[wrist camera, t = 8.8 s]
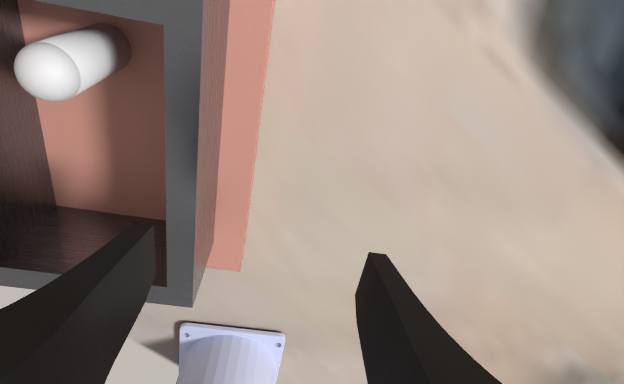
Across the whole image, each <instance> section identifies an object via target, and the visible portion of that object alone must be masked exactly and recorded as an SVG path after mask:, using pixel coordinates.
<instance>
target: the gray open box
mask: <svg viewBox="0 0 624 384" xmlns="http://www.w3.org/2000/svg"><path fill="white" fill-rule="evenodd" d="M35 1H40V2H45V3H50V4H56V5H61V6H66V7H71V8H76V9H81V10H87V11H92V12H97V13H102V14H107V15H112V16H118V17H123V18H128V19H133V20H138V21H144V22H149V23H154V24H159V25H164V97H165V172H166V220H158V219H151V218H144V217H137V216H130V215H122V214H115V213H108V212H101V211H94V210H86V209H79V208H72V207H65V206H58V205H56V200H55V195H54V190H53V185H52V179H51V174H50V169H49V164H48V159H47V153H46V148H45V143H44V138H43V133H42V127H41V122H40V117H39V112H38V107H37V101H36V97H34V96H33V95H31V94H29V93H28V92H27V91H26V90H25V89H24V88H23V87H22V86H21V85H20V83H19V82H18V80H17V78H16V76H15V72H14V61H15V58H16V56H17V54H18V52H19V51H20V50H21V49H22V48H23V47H25V46H26V44H25V39H24V34H23V29H22V23H21V18H20V13H19V8H18V3H17V0H0V286H9V287H17V288H26V289H35V290H38V289H39V288H41V287H43V286H45V285H46V284H48V283H50V282H51V281H53V280H54V279H56V278H57V277H59V276H61V275H62V274H64V273H65V272H67V271H68V270H70V269H71V268H73V267H74V266H76V265H77V264H79V263H80V262H82V261H83V260H84V259H86V258H87V257H89V256H90V255H91V254H93V253H94V252H96V251H97V250H98V249H100V248H101V247H103V246H104V245H105V244H107V243H108V242H109V241H111V240H112V239H113V238H115V237H116V236H117V235H119V234H120V233H121V232H123V231H124V230H125V229H127V228H128V227H129V226H131V225H132V224H134V223H138V224H146V225H154V241H155V259H156V274H155V277H154V280H153V283H152V285H151V288H150V291H149V294H148V296H147V299H146V301H145V302H147V303H156V304H165V305H173V306H182V307H191V308H192V307H193V304H194V301H195V298H196V295H197V292H198V289H199V286H200V283H201V280H202V277H203V274H204V270H205V267H206V264H207V261H208V258H209V255H210V252H211V249H212V246H213V242H214V228H215V213H216V198H217V184H218V169H219V154H220V140H221V125H222V110H223V96H224V81H225V66H226V52H227V37H228V22H229V8H230V0H35Z"/></svg>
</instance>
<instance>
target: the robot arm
mask: <svg viewBox="0 0 624 384" xmlns="http://www.w3.org/2000/svg"><path fill="white" fill-rule="evenodd" d="M155 274H156V259H155V241H154V225H146V224H138V223H134V224H132V225H131V226H129V227H128V228H127V229H125V230H124V231H123V232H121V233H120V234H119V235H117V236H116V237H115V238H113V239H112V240H111V241H109V242H108V243H107V244H105V245H104V246H103V247H101V248H100V249H98V250H97V251H96V252H94V253H93V254H91V255H90V256H89V257H87V258H86V259H84V260H83V261H82V262H80V263H79V264H77V265H76V266H74V267H73V268H71V269H70V270H68V271H67V272H65V273H64V274H62V275H61V276H59V277H57V278H56V279H54V280H53V281H51V282H50V283H48V284H46V285H45V286H43V287H41V288H39V289H38V290H36V291H34V292H32V293H31V294H29V295H27V296H25V297H23V298H21V299H20V300H18V301H16V302H14V303H12V304H10V305H8V306H6V307H4V308H2V309H0V384H104V383H105V381H106V379H107V376H108V374H109V372H110V370H111V368H112V365H113V363H114V361H115V359H116V357H117V355H118V353H119V352H120V350H121V348H122V346H123V344H124V342H125V340H126V338H127V336H128V334H129V332H130V330H131V329H132V327H133V325H134V323H135V321H136V319H137V317H138V315H139V313H140V311H141V309H142V307H143V305H144V303H145V301H146V299H147V296H148V294H149V291H150V288H151V285H152V283H153V280H154V277H155ZM355 300H356V318H357V327H358V332H359V338H360V344H361V349H362V355H363V360H364V365H365V371H366V376H367V382H368V384H502V383H501V382H500V381H498V380H497V379H496V378H495V377H493V376H492V375H491V374H490V373H489V372H488V371H487V370H485V369H484V368H483V367H482V366H481V365H480V364H479V363H478V362H476V361H475V360H474V359H473V358H472V357H471V356H470V355H469V354H468V353H467V352H466V351H465V350H463V349H462V347H461V346H460V345H459V344H458V343H457V342H456V341H455V340H454V339H453V338H452V337H451V336H450V335H449V334H448V333H447V332H446V331H445V330H444V329H443V328H442V327H441V326H440V324H439V323H438V322H437V321H436V320H435V319H434V317H433V316H432V315H431V314H430V313H429V312H428V310H427V309H426V308H425V307H424V305H423V304H422V303H421V302H420V300H419V299H418V298H417V297H416V295H415V294H414V293H413V291H412V290H411V289H410V287H409V286H408V285H407V283H406V282H405V280H404V279H403V278H402V276H401V275H400V273H399V272H398V271H397V269H396V268H395V266H394V265H393V263H392V262H391V261H390V259H389V258H388V256H387V255H386V254H379V253H371V252H369V253H368V257H367V260H366V263H365V266H364V269H363V272H362V275H361V278H360V281H359V284H358V288H357V291H356V294H355ZM285 339H286V337H285V335H284V334H282V333H277V332H268V331H259V330H250V329H241V328H232V327H223V326H214V325H205V324H196V323H182V324H181V326H180V329H179V376H178V379H177V382H176V384H276V379H277V375H278V371H279V367H280V362H281V358H282V354H283V349H284V345H285Z"/></svg>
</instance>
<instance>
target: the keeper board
mask: <svg viewBox="0 0 624 384" xmlns="http://www.w3.org/2000/svg"><path fill="white" fill-rule="evenodd" d="M17 3H18V8H19V13H20V18H21V23H22V29H23V34H24V39H25V44H26V46H25V47H23V48H22V49H21V50H20V51H19V52H18V54H17V56H16V58H15V61H14V72H15V76H16V78H17V80H18V82H19V83H20V85H21V86H22V87H23V88H24V89H25V90H26V91H27V92H28V93H29V94H31V95H33V96H34V97H36V101H37V107H38V112H39V117H40V122H41V127H42V133H43V138H44V143H45V148H46V153H47V159H48V164H49V169H50V174H51V179H52V185H53V190H54V195H55V200H56V205H58V206H65V207H72V208H79V209H86V210H94V211H101V212H108V213H115V214H122V215H130V216H137V217H144V218H151V219H158V220H166V172H165V97H164V25H159V24H154V23H149V22H144V21H138V20H133V19H128V18H123V17H118V16H112V15H107V14H102V13H97V12H92V11H87V10H81V9H76V8H71V7H66V6H61V5H56V4H50V3H45V2H40V1H35V0H17ZM274 3H275V0H230V8H229V22H228V37H227V52H226V66H225V81H224V96H223V110H222V125H221V140H220V154H219V169H218V184H217V198H216V213H215V228H214V242H213V246H212V249H211V252H210V255H209V258H208V261H207V264H206V267H207V268H215V269H223V270H231V271H239V272H240V270H241V265H242V260H243V255H244V247H245V239H246V231H247V223H248V215H249V206H250V198H251V190H252V182H253V174H254V166H255V158H256V150H257V141H258V133H259V125H260V117H261V109H262V101H263V93H264V84H265V76H266V68H267V60H268V52H269V44H270V36H271V28H272V19H273V11H274Z"/></svg>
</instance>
